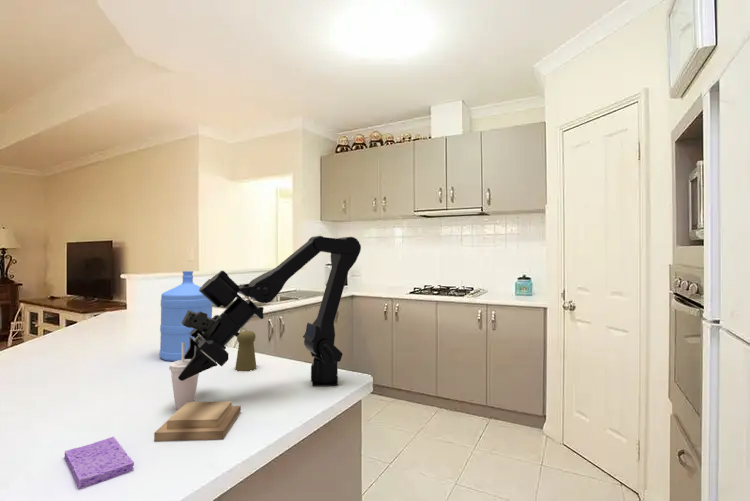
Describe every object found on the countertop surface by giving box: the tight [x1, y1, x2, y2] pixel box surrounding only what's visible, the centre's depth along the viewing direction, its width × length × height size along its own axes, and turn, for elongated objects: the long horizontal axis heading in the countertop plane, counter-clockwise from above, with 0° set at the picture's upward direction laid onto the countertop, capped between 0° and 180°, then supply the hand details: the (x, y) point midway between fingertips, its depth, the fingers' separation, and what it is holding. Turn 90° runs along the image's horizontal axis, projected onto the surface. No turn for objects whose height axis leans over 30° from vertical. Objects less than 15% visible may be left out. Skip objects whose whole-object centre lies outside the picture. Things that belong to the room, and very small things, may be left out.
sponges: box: [64, 436, 135, 490], centre depth 62 cm, size 7×13×2 cm, turn 46°
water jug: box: [159, 270, 214, 362], centre depth 129 cm, size 16×16×28 cm
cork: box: [234, 330, 257, 372], centre depth 115 cm, size 6×6×11 cm
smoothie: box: [168, 343, 200, 411], centre depth 86 cm, size 6×6×14 cm
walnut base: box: [153, 400, 242, 442], centre depth 76 cm, size 12×12×3 cm
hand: (178, 375), depth 85 cm, fingers closed on smoothie, 6 cm apart
